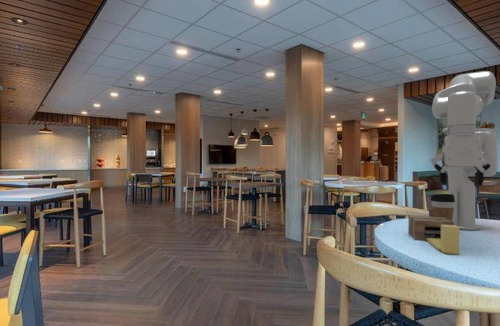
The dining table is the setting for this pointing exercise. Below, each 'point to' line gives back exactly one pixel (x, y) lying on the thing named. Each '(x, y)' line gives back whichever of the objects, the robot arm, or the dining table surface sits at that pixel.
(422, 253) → the dining table surface
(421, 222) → the dispenser
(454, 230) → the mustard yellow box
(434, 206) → the coffee cup
